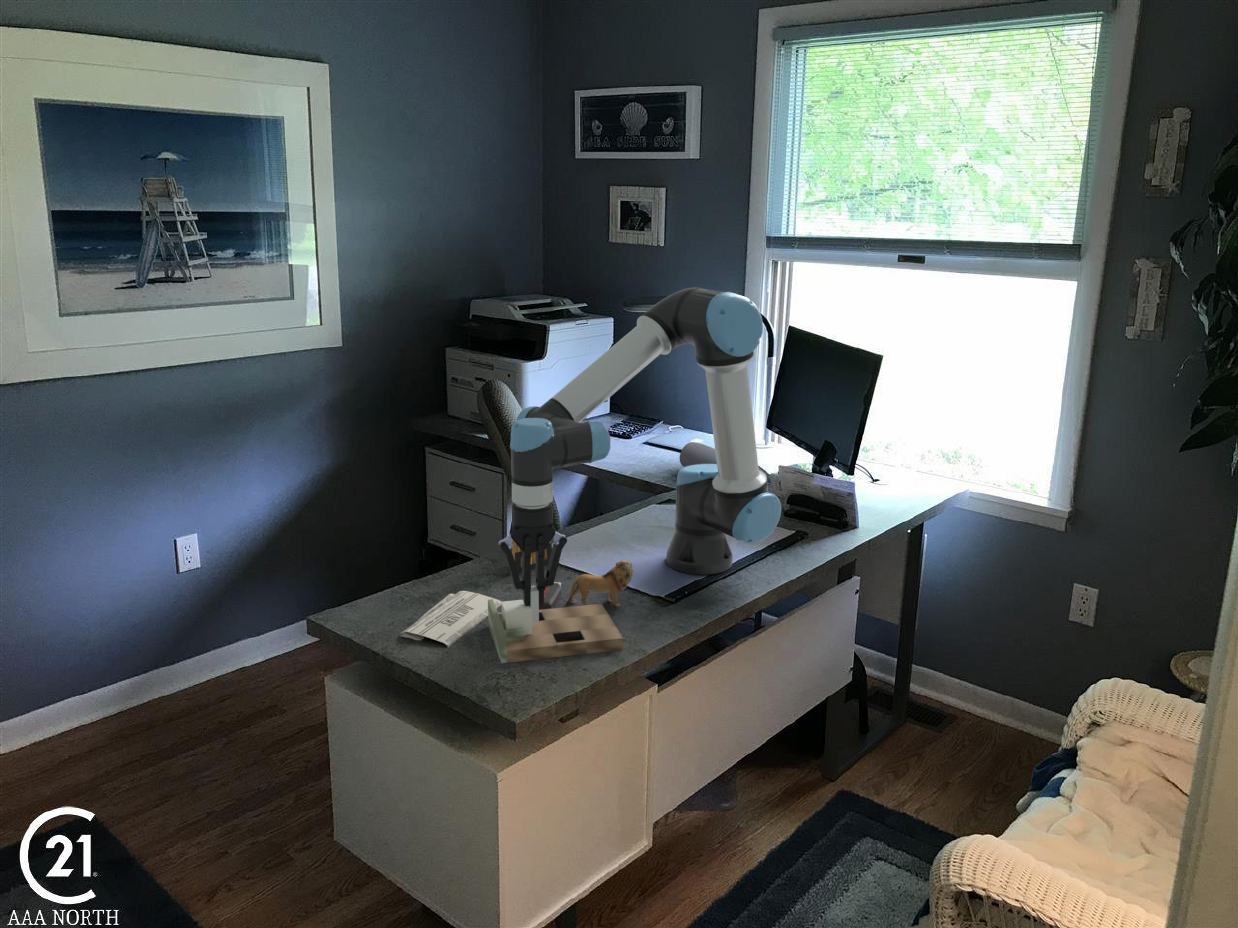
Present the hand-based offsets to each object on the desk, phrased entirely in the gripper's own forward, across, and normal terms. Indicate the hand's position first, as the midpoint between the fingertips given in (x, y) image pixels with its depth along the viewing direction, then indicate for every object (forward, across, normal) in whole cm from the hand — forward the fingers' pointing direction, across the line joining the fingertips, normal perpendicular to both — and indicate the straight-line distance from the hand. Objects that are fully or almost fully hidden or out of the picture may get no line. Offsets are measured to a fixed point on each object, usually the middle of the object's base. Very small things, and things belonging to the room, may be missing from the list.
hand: (533, 620), depth 192 cm
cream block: (+2, +3, 0) cm, 4 cm away
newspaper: (+5, +15, -13) cm, 20 cm away
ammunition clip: (+4, -6, -36) cm, 37 cm away
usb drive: (+5, -6, -18) cm, 19 cm away
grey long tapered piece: (+5, -70, -88) cm, 112 cm away
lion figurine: (+5, -17, -14) cm, 22 cm away
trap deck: (+4, -4, 0) cm, 6 cm away
